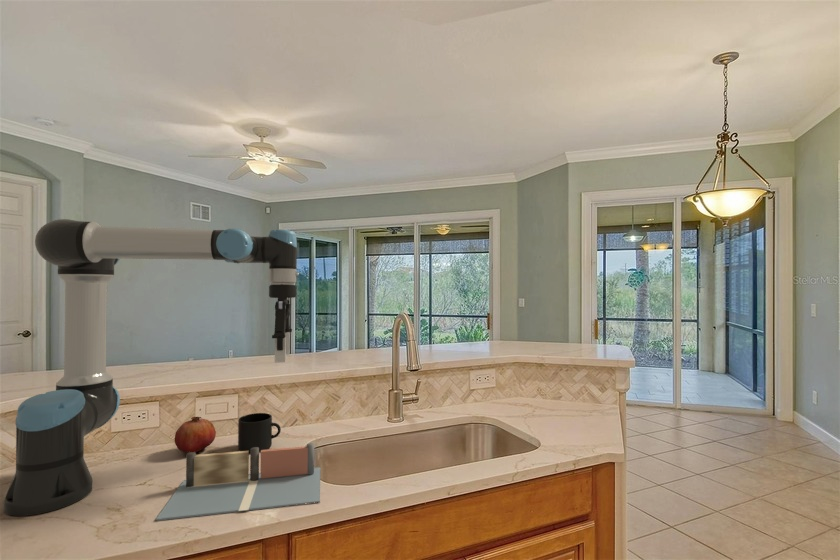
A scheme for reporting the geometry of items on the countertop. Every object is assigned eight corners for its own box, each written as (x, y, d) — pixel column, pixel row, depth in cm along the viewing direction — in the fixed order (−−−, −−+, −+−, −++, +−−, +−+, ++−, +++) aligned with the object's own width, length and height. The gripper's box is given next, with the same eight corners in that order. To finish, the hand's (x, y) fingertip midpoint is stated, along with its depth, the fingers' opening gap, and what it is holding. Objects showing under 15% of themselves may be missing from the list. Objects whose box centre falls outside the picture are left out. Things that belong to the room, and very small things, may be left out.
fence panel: (260, 479, 104) (260, 449, 104) (261, 475, 106) (261, 447, 106) (313, 473, 107) (314, 445, 107) (314, 470, 109) (314, 442, 109)
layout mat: (154, 522, 86) (154, 520, 86) (184, 481, 104) (184, 479, 104) (319, 503, 94) (319, 501, 94) (320, 468, 112) (320, 466, 112)
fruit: (217, 443, 130) (217, 410, 130) (212, 455, 121) (213, 420, 121) (178, 447, 127) (179, 414, 127) (170, 460, 117) (171, 424, 117)
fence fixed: (184, 489, 100) (185, 455, 100) (187, 485, 102) (187, 452, 102) (258, 482, 104) (258, 449, 104) (259, 478, 106) (259, 446, 106)
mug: (279, 451, 124) (279, 420, 124) (235, 455, 121) (235, 423, 121) (281, 439, 133) (281, 411, 133) (240, 443, 130) (241, 414, 130)
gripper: (293, 283, 109) (293, 365, 109) (298, 284, 134) (298, 351, 133) (263, 283, 108) (262, 366, 107) (274, 284, 132) (273, 351, 132)
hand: (282, 358), depth 120 cm, fingers open, 13 cm apart
